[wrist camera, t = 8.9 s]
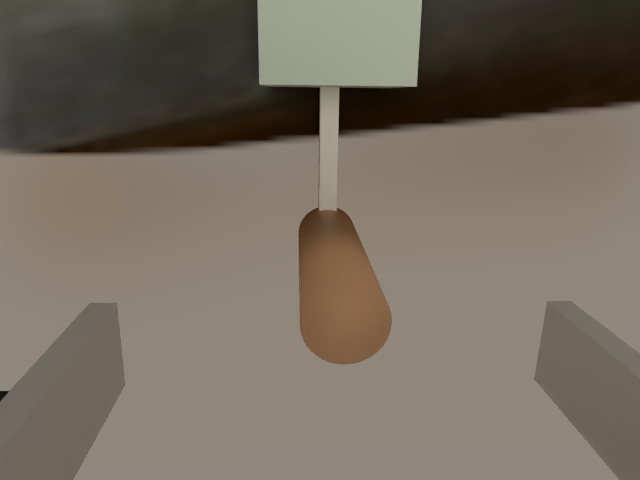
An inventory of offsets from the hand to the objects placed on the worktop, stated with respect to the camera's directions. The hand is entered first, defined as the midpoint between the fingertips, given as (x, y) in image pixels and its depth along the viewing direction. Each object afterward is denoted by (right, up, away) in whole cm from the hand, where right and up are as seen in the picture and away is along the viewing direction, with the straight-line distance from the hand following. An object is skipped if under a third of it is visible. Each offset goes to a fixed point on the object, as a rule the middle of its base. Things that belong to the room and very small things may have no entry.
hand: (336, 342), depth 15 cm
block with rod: (0, +9, +10) cm, 14 cm away
